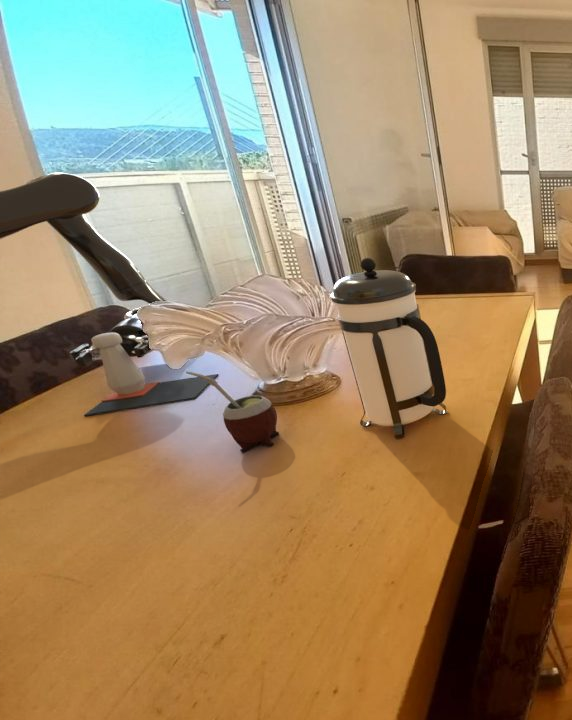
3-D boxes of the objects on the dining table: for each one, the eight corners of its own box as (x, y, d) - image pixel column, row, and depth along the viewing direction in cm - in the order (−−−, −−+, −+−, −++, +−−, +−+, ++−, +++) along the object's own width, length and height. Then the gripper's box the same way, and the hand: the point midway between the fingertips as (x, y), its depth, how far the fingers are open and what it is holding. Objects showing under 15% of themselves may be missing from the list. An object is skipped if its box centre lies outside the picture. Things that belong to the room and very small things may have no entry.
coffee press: (347, 449, 79) (293, 272, 68) (373, 405, 94) (333, 253, 82) (454, 435, 82) (420, 263, 71) (463, 394, 97) (437, 246, 85)
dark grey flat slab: (84, 416, 94) (83, 413, 93) (121, 389, 105) (120, 387, 105) (195, 399, 99) (194, 396, 99) (218, 375, 110) (217, 373, 110)
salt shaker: (105, 395, 101) (76, 338, 96) (136, 383, 106) (110, 329, 101) (125, 397, 99) (97, 339, 94) (156, 385, 105) (130, 330, 100)
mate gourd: (293, 436, 84) (266, 358, 78) (247, 460, 77) (213, 377, 71) (266, 428, 87) (237, 353, 81) (219, 452, 80) (184, 371, 74)
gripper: (84, 326, 106) (52, 348, 93) (167, 315, 112) (148, 333, 100) (100, 357, 109) (71, 382, 96) (179, 344, 115) (162, 366, 102)
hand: (110, 357), depth 98 cm, fingers open, 8 cm apart
